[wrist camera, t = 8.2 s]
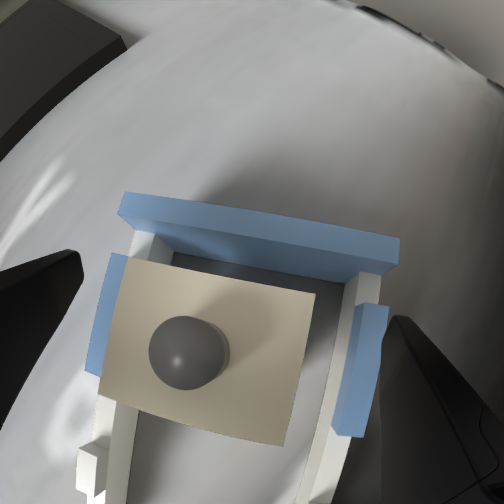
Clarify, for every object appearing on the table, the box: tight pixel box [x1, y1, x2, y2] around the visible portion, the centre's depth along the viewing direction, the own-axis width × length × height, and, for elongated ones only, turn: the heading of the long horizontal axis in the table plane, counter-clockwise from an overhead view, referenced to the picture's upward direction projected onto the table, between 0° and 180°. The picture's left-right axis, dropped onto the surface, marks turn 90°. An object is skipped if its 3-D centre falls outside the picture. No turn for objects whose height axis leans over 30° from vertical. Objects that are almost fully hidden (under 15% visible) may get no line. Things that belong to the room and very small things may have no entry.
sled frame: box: [76, 192, 400, 504], centre depth 12 cm, size 18×11×5 cm, turn 168°
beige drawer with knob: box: [98, 257, 316, 447], centre depth 11 cm, size 4×4×10 cm
